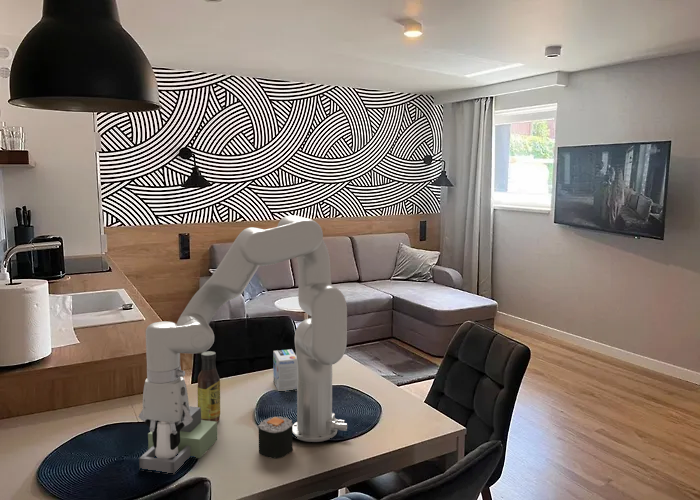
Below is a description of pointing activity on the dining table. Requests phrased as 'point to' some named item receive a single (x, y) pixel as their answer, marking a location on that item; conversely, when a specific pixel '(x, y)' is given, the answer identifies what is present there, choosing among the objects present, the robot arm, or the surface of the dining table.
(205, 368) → the sauce bottle
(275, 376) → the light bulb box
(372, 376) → the dining table surface
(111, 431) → the dining table surface
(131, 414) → the dining table surface
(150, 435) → the green and grey machine
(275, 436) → the sushi
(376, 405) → the dining table surface
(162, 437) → the pepper shaker
